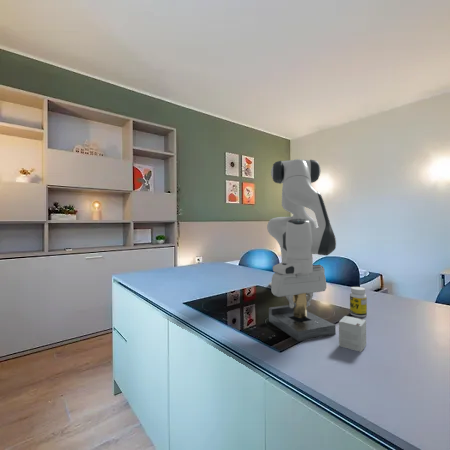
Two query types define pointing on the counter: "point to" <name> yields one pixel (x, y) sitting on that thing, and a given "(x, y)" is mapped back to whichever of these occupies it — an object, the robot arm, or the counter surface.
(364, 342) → the skincare box
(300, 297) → the bushing
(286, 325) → the jig
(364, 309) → the supplement bottle
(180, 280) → the counter surface
